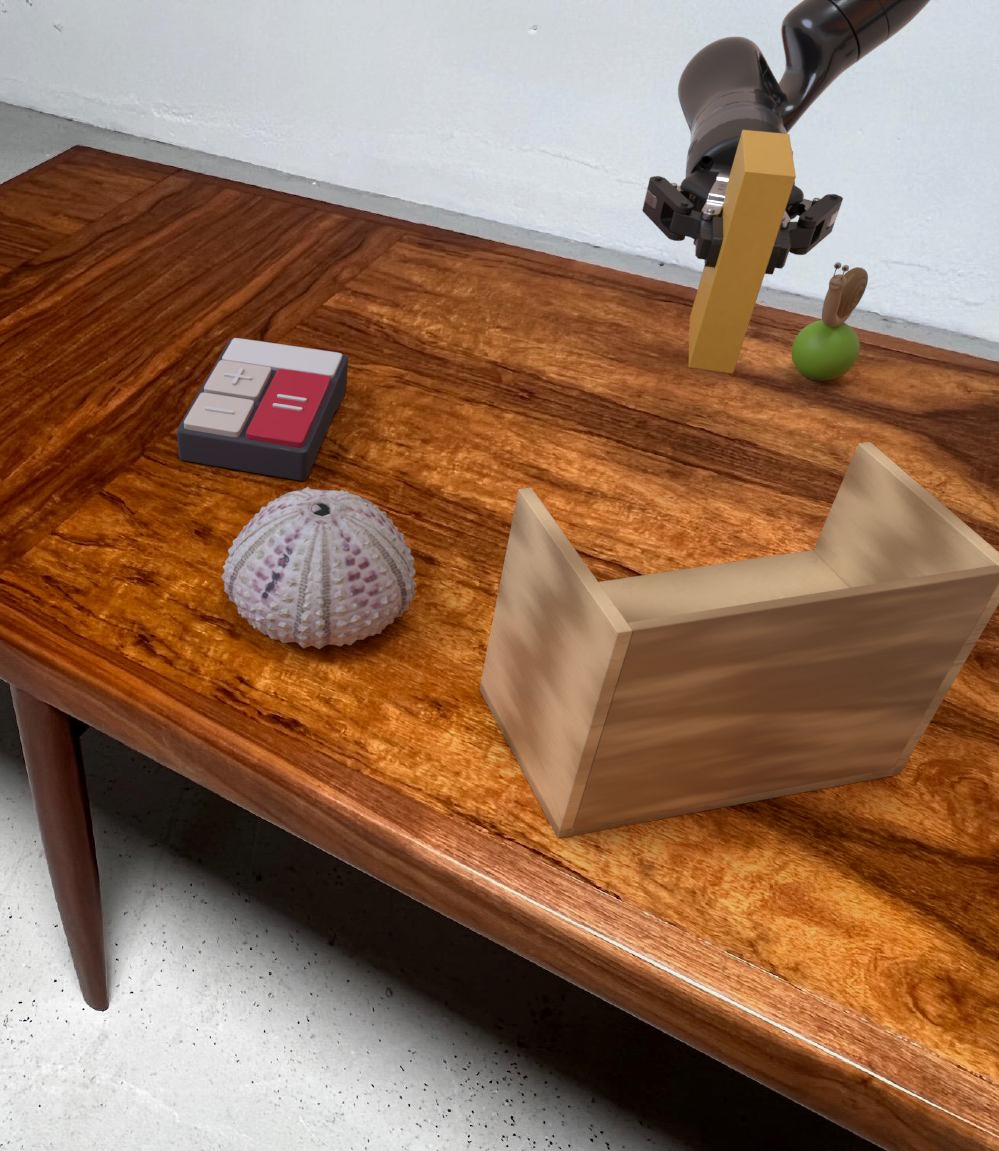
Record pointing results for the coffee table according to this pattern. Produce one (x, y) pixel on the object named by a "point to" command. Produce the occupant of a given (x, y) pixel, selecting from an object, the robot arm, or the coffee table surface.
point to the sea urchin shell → (320, 569)
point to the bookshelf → (734, 658)
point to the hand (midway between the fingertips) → (742, 256)
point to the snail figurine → (832, 330)
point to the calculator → (264, 409)
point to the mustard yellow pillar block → (741, 249)
